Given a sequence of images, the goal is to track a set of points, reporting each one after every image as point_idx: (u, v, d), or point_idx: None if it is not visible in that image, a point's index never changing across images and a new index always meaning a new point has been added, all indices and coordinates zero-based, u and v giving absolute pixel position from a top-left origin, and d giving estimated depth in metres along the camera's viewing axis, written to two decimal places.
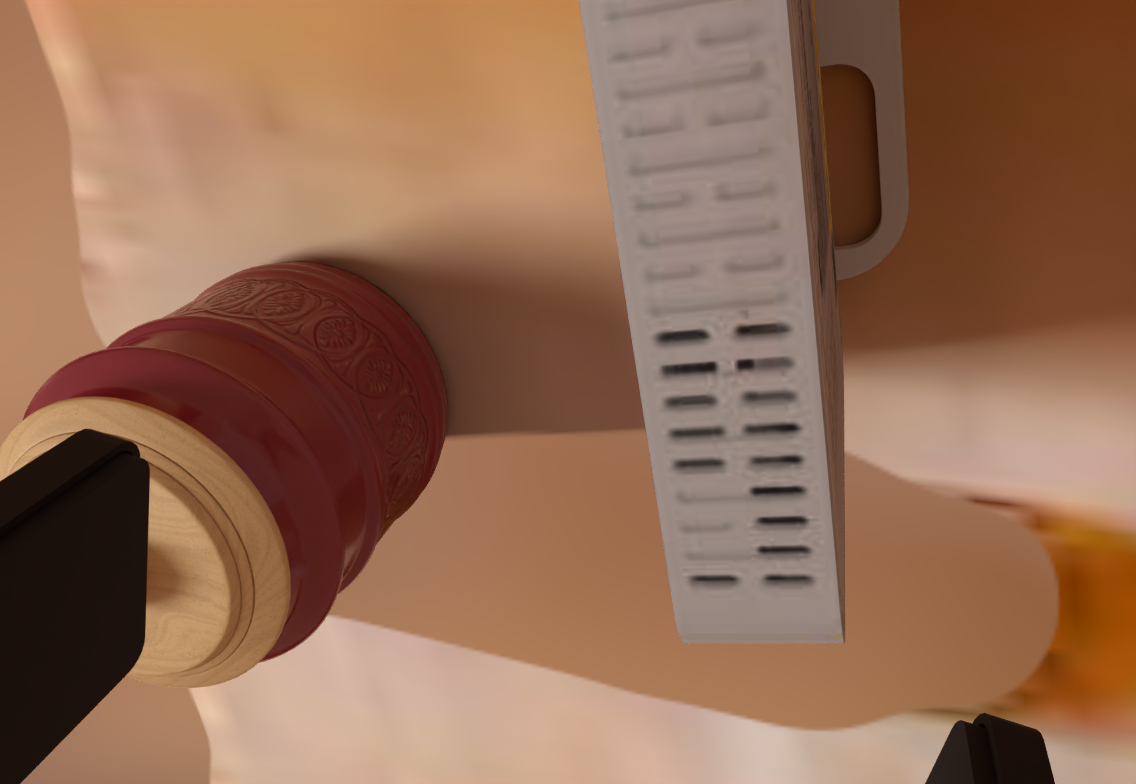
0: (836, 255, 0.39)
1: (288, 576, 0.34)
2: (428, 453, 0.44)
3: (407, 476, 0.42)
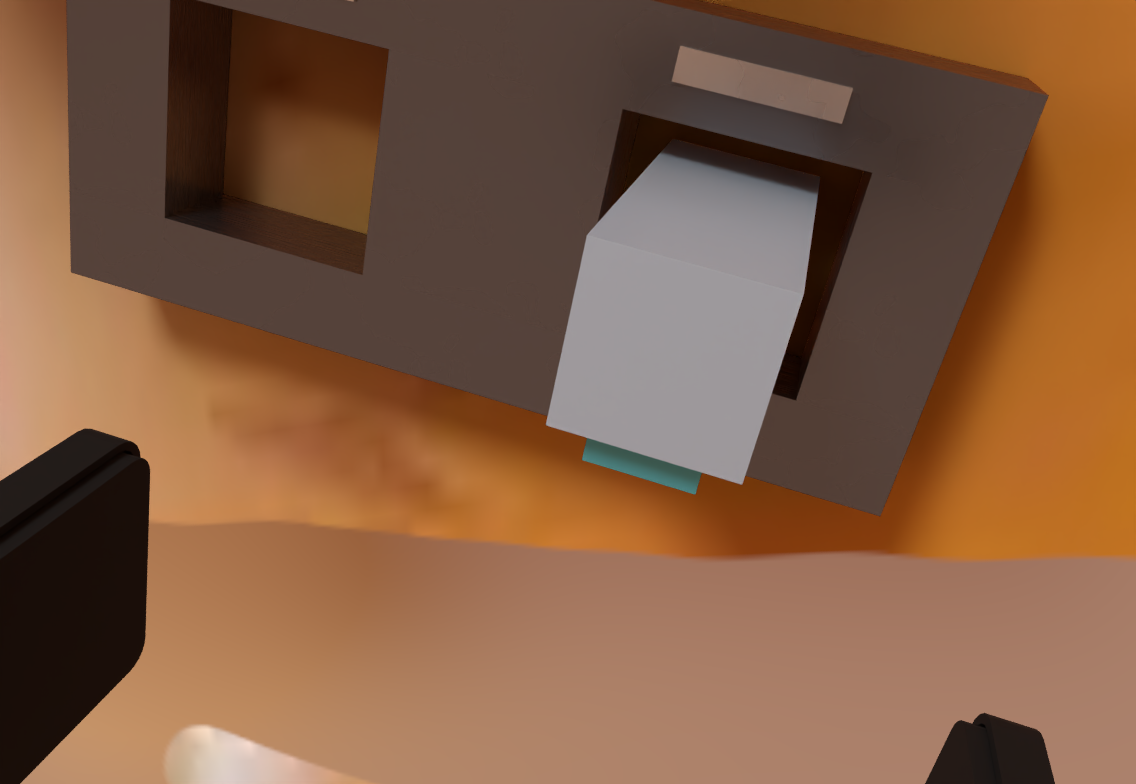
0: None
1: None
2: None
3: None
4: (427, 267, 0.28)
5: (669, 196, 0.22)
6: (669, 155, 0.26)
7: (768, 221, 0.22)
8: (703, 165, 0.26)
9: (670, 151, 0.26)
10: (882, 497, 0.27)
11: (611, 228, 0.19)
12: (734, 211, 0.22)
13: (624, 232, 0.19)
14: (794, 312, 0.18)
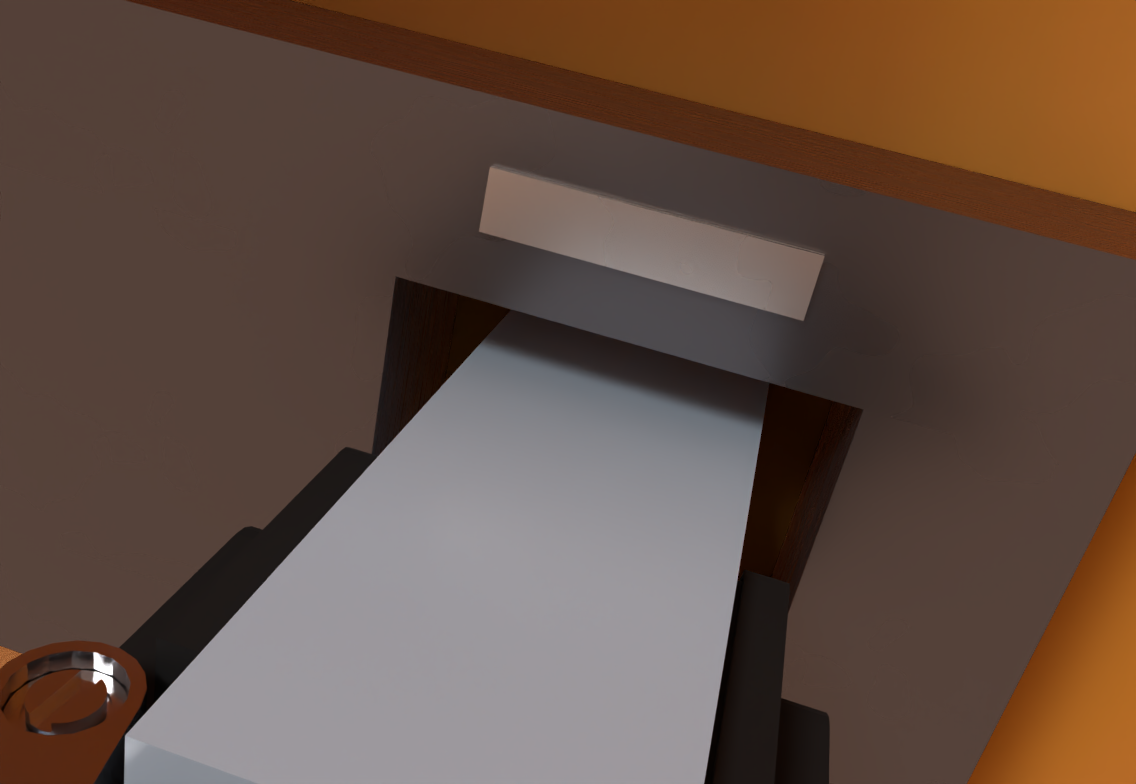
0: None
1: None
2: None
3: None
4: (98, 520, 0.16)
5: (443, 494, 0.11)
6: (495, 350, 0.14)
7: (646, 551, 0.11)
8: (555, 370, 0.14)
9: (502, 336, 0.15)
10: None
11: (222, 680, 0.08)
12: (577, 524, 0.11)
13: (250, 693, 0.08)
14: None
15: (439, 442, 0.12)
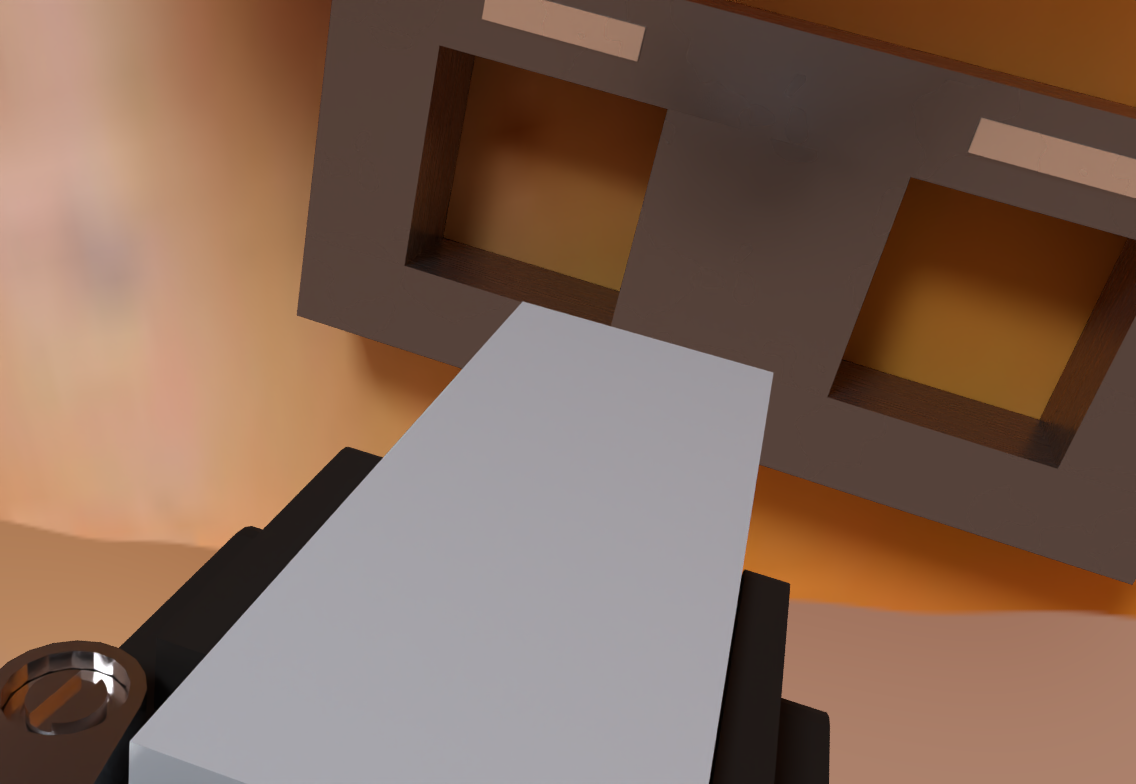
0: None
1: None
2: None
3: None
4: (680, 324, 0.27)
5: (446, 497, 0.11)
6: (497, 352, 0.14)
7: (649, 556, 0.11)
8: (557, 373, 0.14)
9: (505, 339, 0.15)
10: None
11: (228, 685, 0.08)
12: (580, 528, 0.11)
13: (253, 700, 0.08)
14: None
15: (442, 446, 0.12)
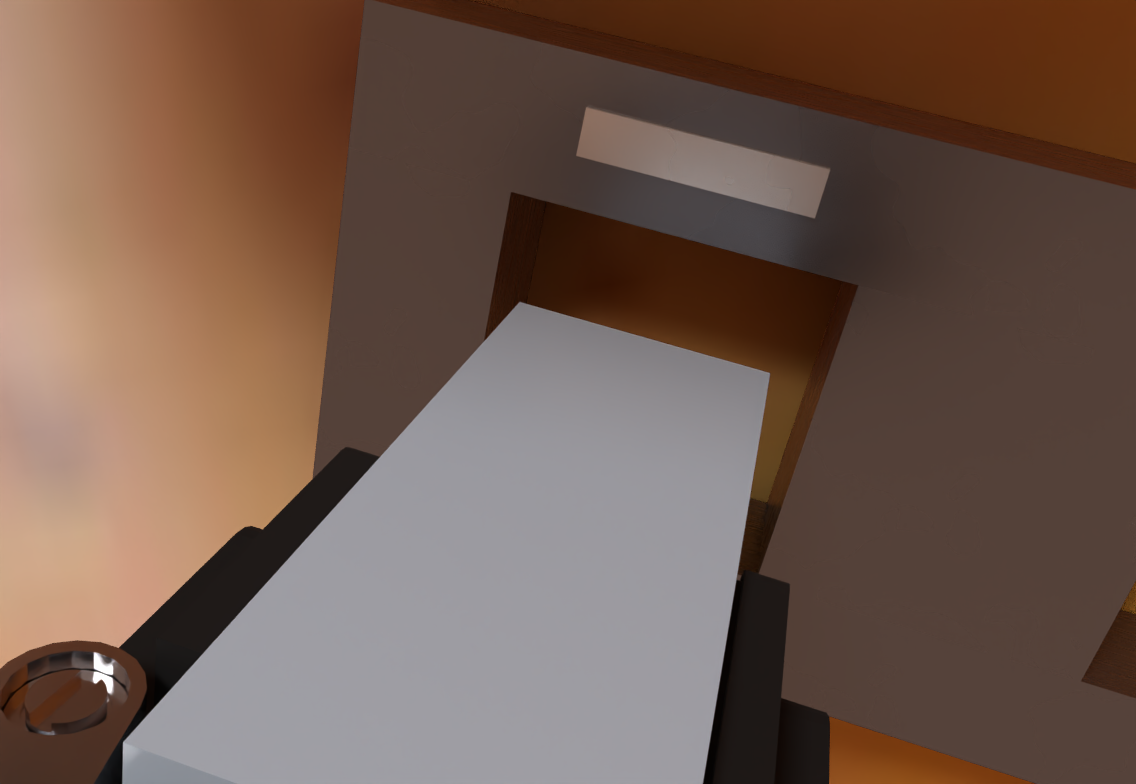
0: None
1: None
2: None
3: None
4: (862, 577, 0.19)
5: (442, 498, 0.11)
6: (494, 353, 0.14)
7: (644, 557, 0.11)
8: (554, 374, 0.14)
9: (501, 340, 0.15)
10: None
11: (223, 686, 0.08)
12: (576, 529, 0.11)
13: (248, 701, 0.08)
14: None
15: (438, 446, 0.12)
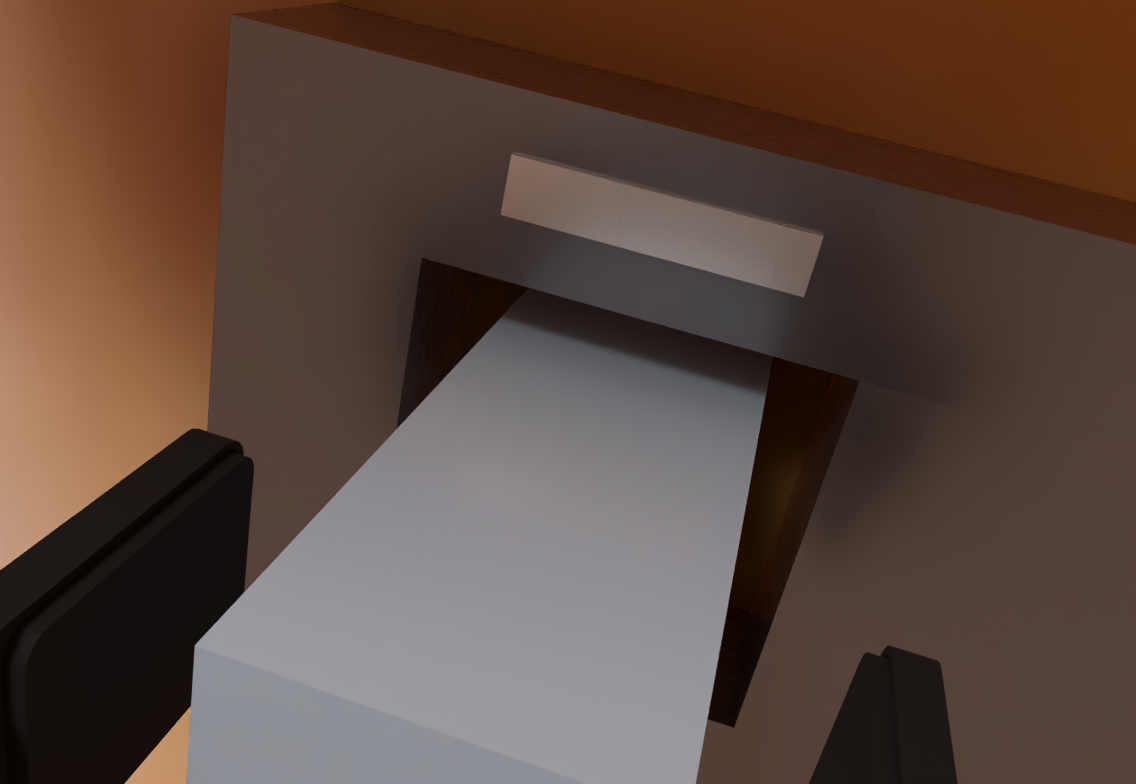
0: None
1: None
2: None
3: None
4: None
5: (470, 450, 0.12)
6: (514, 324, 0.15)
7: (657, 504, 0.11)
8: (570, 344, 0.15)
9: (520, 312, 0.16)
10: None
11: (278, 601, 0.09)
12: (593, 479, 0.12)
13: (303, 614, 0.09)
14: None
15: (464, 405, 0.13)
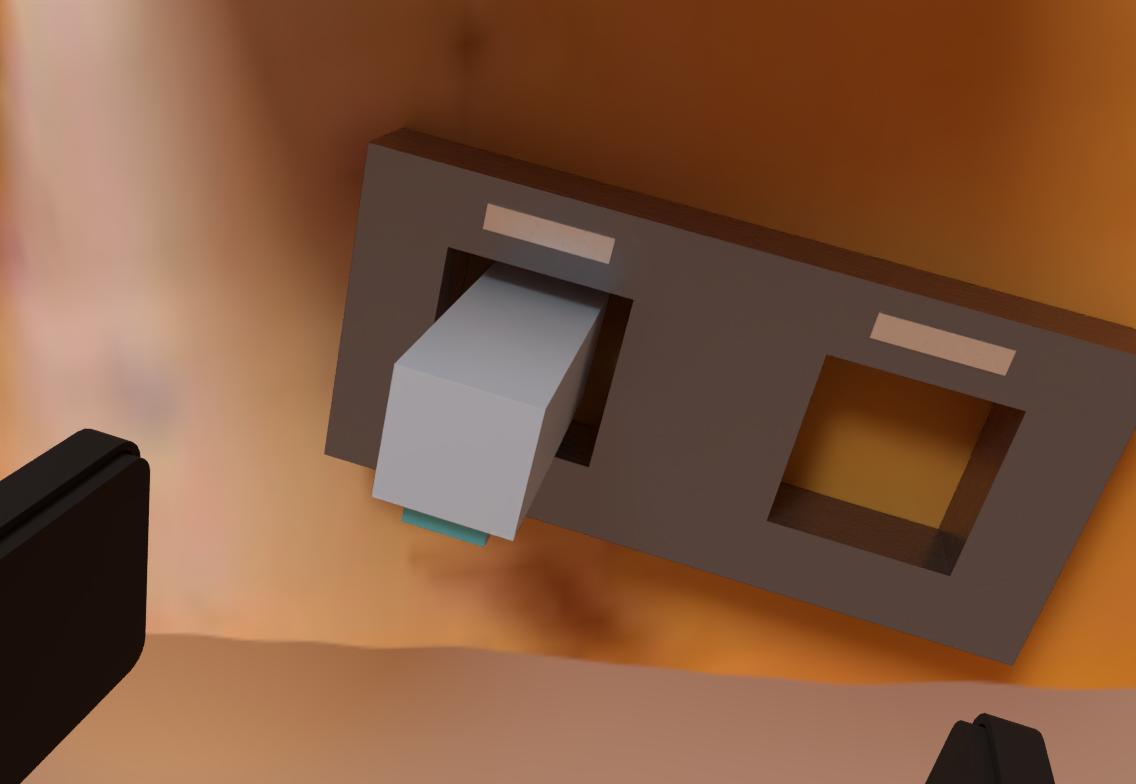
0: None
1: None
2: None
3: None
4: (646, 463, 0.34)
5: (473, 322, 0.30)
6: (488, 278, 0.33)
7: (545, 342, 0.30)
8: (513, 287, 0.33)
9: (490, 273, 0.34)
10: (1015, 651, 0.33)
11: (416, 356, 0.27)
12: (521, 333, 0.30)
13: (424, 360, 0.27)
14: (540, 421, 0.26)
15: (469, 307, 0.31)
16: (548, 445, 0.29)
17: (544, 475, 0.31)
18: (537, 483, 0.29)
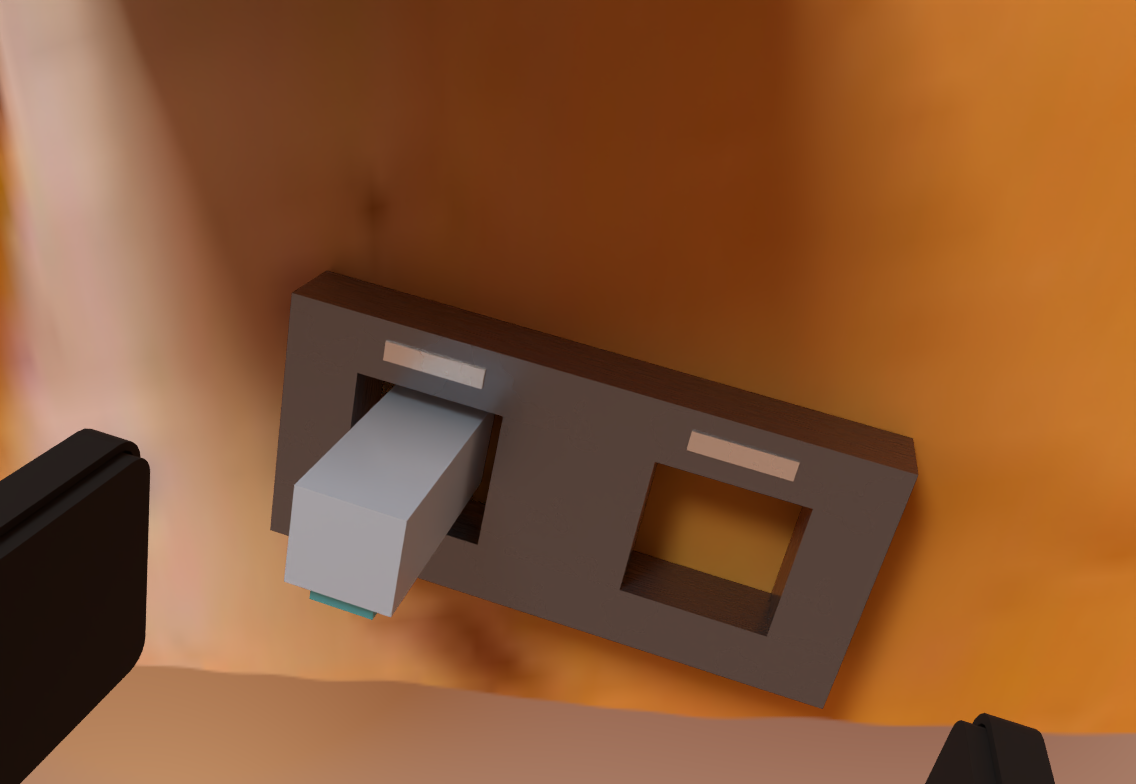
0: None
1: None
2: None
3: None
4: (522, 543, 0.41)
5: (369, 439, 0.38)
6: (393, 394, 0.41)
7: (425, 455, 0.38)
8: (413, 401, 0.41)
9: (397, 389, 0.42)
10: (823, 697, 0.41)
11: (313, 476, 0.35)
12: (407, 448, 0.38)
13: (319, 479, 0.35)
14: (403, 529, 0.34)
15: (369, 425, 0.39)
16: (426, 538, 0.37)
17: (429, 558, 0.39)
18: (418, 567, 0.37)
